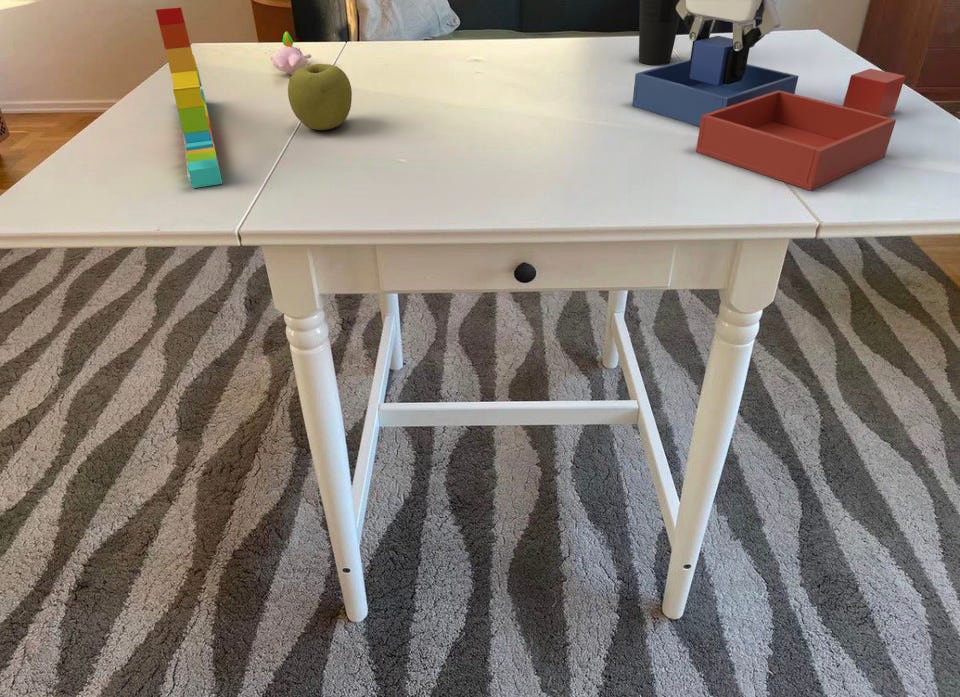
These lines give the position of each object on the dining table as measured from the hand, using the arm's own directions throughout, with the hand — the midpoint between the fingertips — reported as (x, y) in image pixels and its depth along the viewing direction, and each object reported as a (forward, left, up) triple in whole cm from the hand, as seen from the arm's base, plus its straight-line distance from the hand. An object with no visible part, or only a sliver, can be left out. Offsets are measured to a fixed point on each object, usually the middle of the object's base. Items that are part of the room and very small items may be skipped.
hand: (715, 76), depth 91 cm
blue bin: (0, 0, -4) cm, 4 cm away
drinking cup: (+20, -12, -4) cm, 24 cm away
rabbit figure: (+52, +34, -4) cm, 62 cm away
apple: (+26, +42, -4) cm, 50 cm away
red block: (-14, -13, -4) cm, 20 cm away
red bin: (-16, +7, -4) cm, 18 cm away
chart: (+32, +56, -4) cm, 64 cm away
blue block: (0, 0, 0) cm, 0 cm away
